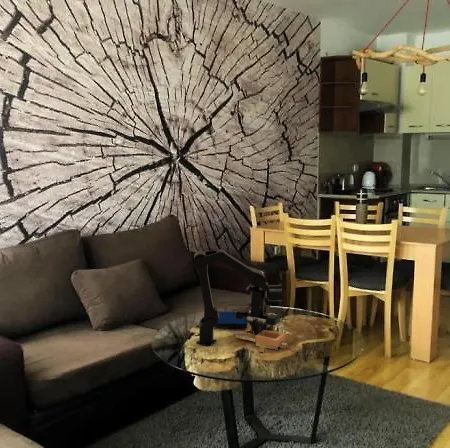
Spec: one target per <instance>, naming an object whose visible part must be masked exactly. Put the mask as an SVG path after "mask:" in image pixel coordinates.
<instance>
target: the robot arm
mask: <svg viewBox="0 0 450 448" xmlns="http://www.w3.org/2000/svg"><path fill="white" fill-rule="evenodd" d="M192 261H193V265H194V268H195V270H196V272H197V275H198V278H199V284H200V290H201V296H202V301H203V307H204V309H203V317H202V318H201V319H200V320H199V326H198V327H199V328H198V329H199V331H198V332H199V333H198V334H199V335H198V336H199V340H197V341H196V344H197V345H202V346H206V347H210V346H212V345H213V344H215V343H216V342H217V339H214V338H215V337H214V335H215V333H214V331H215V330H214V328H216V327H215V326H216V325H217V323H218V320H219V313H218V309H219V308H218V307H219V306H218V305H216V306H215V305H214V302H213V296H212V291H211V286H210V285H211V284H210V279H209V274H208V273H209V272H208V269H209V268H208V266H209V265H211V264H214V263H217V262H221V263H224V264H225V265H226V266H228V267H230V268H231V269H233V270H234V271H236V272H237V273H239V274H241V275H242V276H243V277H244V278H245V279H246V280H247V281H248V282H249V283H250V284H249V285H248V286H246V287H245V288H246V292H247V293H248V292H249V293H250V303H249V304H248V305H249V307H250V310H249V309H247V308H239V309H238V310H236V311H235V312H236V313H235V318H237V319H242V318H243V316H245V317H247V319H248V320H247V324H249V325H250V328H251V327H252V329H253V331H254V333H255V334H254V336H256V335H257V334H259V333H260V330H261V328H262V326H263V324H264V323H267V324H268V325H269V326H273V327H274V326H276V325H277V324H279V323H280V322H281V317H280V315H278V314H274V313H273V314H272V313H270V312H271V305H267V301H269V302H283V296H284V295H283V288H282V287H283V286H282V284H269V282H267V280H266V278H265V277H266V276H265V274H264V272H263V271H261V270H260V269H257V268H254V267H251V266H248V265H247V264H244V263H243V262H242V261H240V260H238V259H237V258H236V257H234V256H232V255H231V254H229V253H227V252H226V250H225V249H221V248H220V249H216V250H206V251H204V250H197V251H196V252H195V253H194V256H193V260H192ZM265 299H267V301H266V302H265ZM264 314H268V315H269V316H265V315H264ZM214 342H215V343H214ZM211 344H212V345H211Z"/></svg>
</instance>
